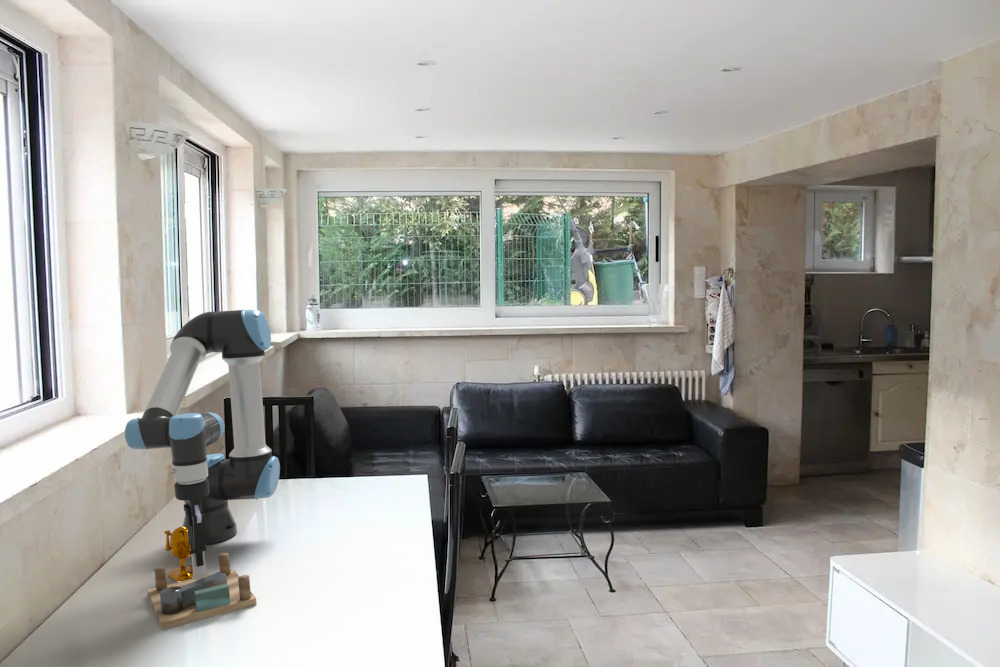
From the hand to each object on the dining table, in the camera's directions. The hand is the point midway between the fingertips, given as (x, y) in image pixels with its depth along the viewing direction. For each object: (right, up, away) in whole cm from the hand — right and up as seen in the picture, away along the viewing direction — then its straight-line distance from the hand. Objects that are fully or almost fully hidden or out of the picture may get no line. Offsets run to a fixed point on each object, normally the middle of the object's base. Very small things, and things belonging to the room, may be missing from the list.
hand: (200, 577), depth 187 cm
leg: (+2, -3, -8) cm, 9 cm away
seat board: (+2, -4, -4) cm, 6 cm away
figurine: (-9, -3, +14) cm, 16 cm away
